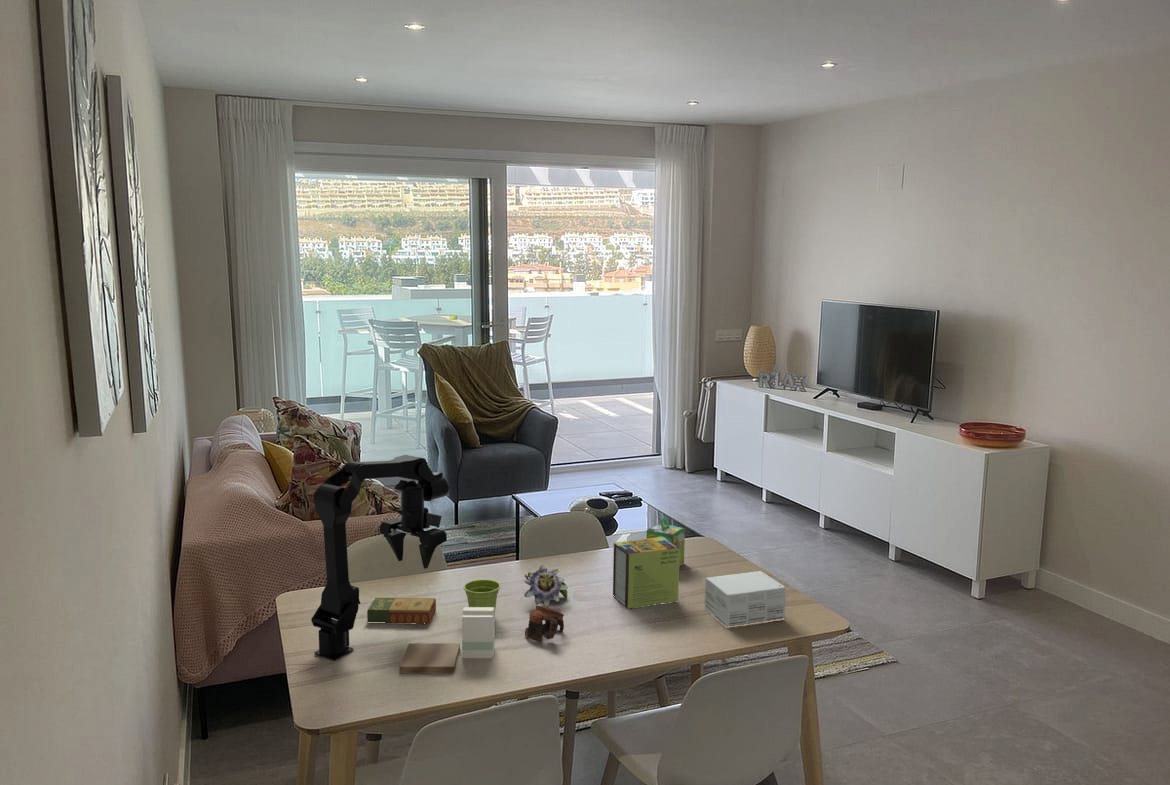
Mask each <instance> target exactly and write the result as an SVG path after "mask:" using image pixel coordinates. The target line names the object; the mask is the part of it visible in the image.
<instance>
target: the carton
mask: <svg viewBox="0 0 1170 785" xmlns="http://www.w3.org/2000/svg"><path fill="white" fill-rule="evenodd" d="M435 612H437V599H436V597H374V600H373V601H372V603H371V604H370V606H369V607H368V608H367V612H366V618H367V620H366V621H367V623H368V622H385V623H416V624H415V625H431V623H432V621H433V619H432V618H434V617H435V615H436V613H435ZM434 614H435V615H434ZM433 616H434V617H433ZM385 623H384V624H385ZM424 623H425V624H424Z"/></svg>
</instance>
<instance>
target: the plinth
mask: <svg viewBox="0 0 1170 785" xmlns="http://www.w3.org/2000/svg"><path fill="white" fill-rule="evenodd" d="M460 651H461V643H460V642H459V643H456V642H455V643H451V642H450V643H447V642H446V643H445V642H443V643H441V642H440V643H435V642H431V643H429V642H428V643H427V642H426V643H425V642H424V643H421V642H417V643H416V642H415V643H414V642H412V643H410V642H408V644H407V647H406V650H405V652H404V654H403V656H402V659H401V662H400V664H399V674H454V673H455V671H456V670H455V669H456V666H457V662H458V658H459V655H460Z"/></svg>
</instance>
